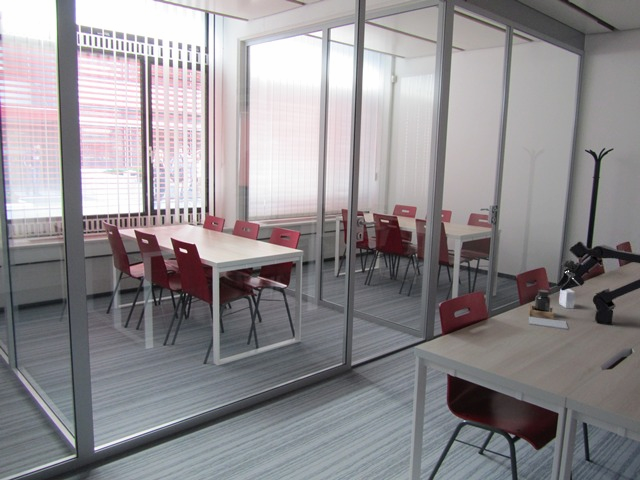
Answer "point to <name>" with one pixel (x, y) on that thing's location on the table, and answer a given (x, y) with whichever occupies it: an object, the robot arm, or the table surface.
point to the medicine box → (567, 298)
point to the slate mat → (548, 322)
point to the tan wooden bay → (540, 313)
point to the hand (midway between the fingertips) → (559, 287)
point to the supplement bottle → (542, 301)
